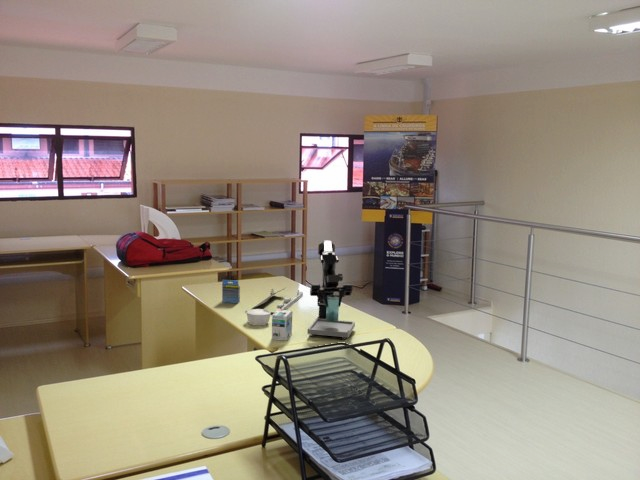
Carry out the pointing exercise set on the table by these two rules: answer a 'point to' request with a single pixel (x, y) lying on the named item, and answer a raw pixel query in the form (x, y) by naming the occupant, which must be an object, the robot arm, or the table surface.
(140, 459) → the table surface
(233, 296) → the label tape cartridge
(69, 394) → the table surface
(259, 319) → the ramekin
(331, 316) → the teal canister
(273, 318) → the light bulb box
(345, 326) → the shallow grey tray
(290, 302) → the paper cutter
